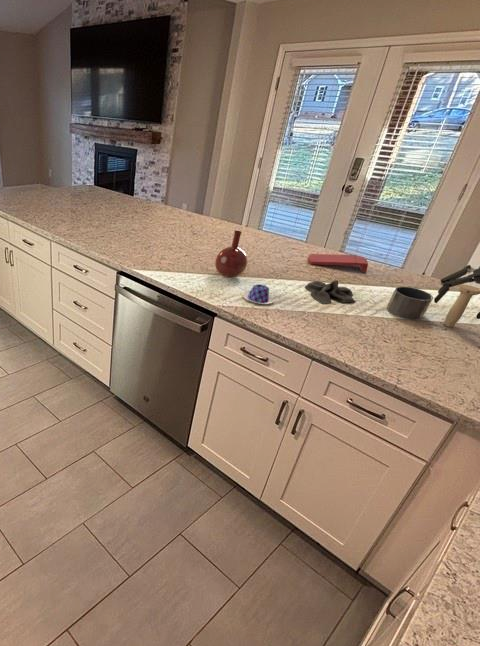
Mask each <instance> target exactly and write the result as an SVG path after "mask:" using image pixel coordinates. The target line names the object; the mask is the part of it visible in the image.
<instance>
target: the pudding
mask: <svg viewBox="0 0 480 646" xmlns="http://www.w3.org/2000/svg"><path fill="white" fill-rule="evenodd" d="M242 297H243V298H244V299H245V300H247V301H249V302H252V303H255V304H259V305H270V304H272V303H274V302H275V298H274V297H273V296H272V295H271V294H270V287H268V286H267V285H266V284H261V283H260V284H257V283H256V284H254V285H253V286H252V287H251V289H250V290H247V291H244V292H243V293H242Z"/></svg>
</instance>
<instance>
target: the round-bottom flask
mask: <svg viewBox="0 0 480 646" xmlns="http://www.w3.org/2000/svg"><path fill="white" fill-rule="evenodd" d="M233 233H234V234H233V237H232V242H231V246H227V247H225V248H223V249H222V250H221V251H220V252H219V253H218V254H217V255H216V258H215V263H214V264H215V269H216V271H217V272H218V274H219V275H220V276H222V277H223V278H228V279H233V278H237V277H239V276H241V275H242V274H243V273H244V272H245V270H246V269H247V266H248V256H247V254H246V253H245V251H244V250H243V249H241V248H240V247H239V244H240V239H241V235H242V231H241V230H234V231H233Z"/></svg>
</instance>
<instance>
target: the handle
mask: <svg viewBox="0 0 480 646" xmlns="http://www.w3.org/2000/svg"><path fill="white" fill-rule="evenodd" d="M457 291H459V292H460V293H459V294H458V296H457V298H456V300H455V301H454V302H453V304H452V306H451V307H450V308H449V310H448V311H447V313H446V316H445V320H443V325H444V326H446V327H448V328H454V327H455V325H456V324H457V323H458V322H459V321H460V319H461V318H462V316H463V315H464V313H465V311H466V309H467V307H468V304H469V303H470V301H471V299H472V298H473V296H478V295H480V288H479V287H477V286H473V285H470V284H465V283H464V284H459V285H457Z"/></svg>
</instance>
